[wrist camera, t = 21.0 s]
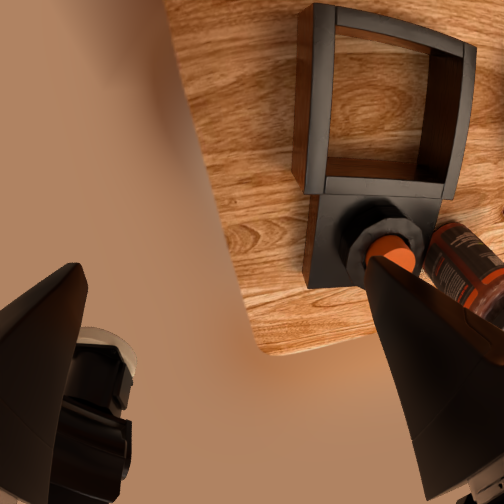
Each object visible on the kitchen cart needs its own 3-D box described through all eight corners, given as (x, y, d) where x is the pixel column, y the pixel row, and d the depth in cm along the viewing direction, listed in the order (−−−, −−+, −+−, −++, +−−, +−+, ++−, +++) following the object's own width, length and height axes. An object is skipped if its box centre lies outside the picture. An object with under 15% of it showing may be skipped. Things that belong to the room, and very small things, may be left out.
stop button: (360, 273, 22) (369, 288, 20) (369, 234, 20) (379, 248, 19) (398, 271, 22) (408, 285, 21) (409, 234, 20) (421, 247, 19)
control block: (301, 272, 26) (312, 305, 23) (311, 179, 22) (327, 203, 18) (406, 267, 27) (426, 295, 23) (428, 185, 22) (456, 207, 19)
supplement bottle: (422, 283, 28) (478, 371, 19) (414, 237, 25) (486, 330, 15) (469, 256, 27) (532, 334, 17) (465, 209, 24) (546, 286, 14)
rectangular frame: (291, 172, 21) (303, 195, 18) (297, 13, 15) (313, 1, 12) (425, 179, 22) (453, 200, 19) (442, 44, 16) (477, 47, 13)
